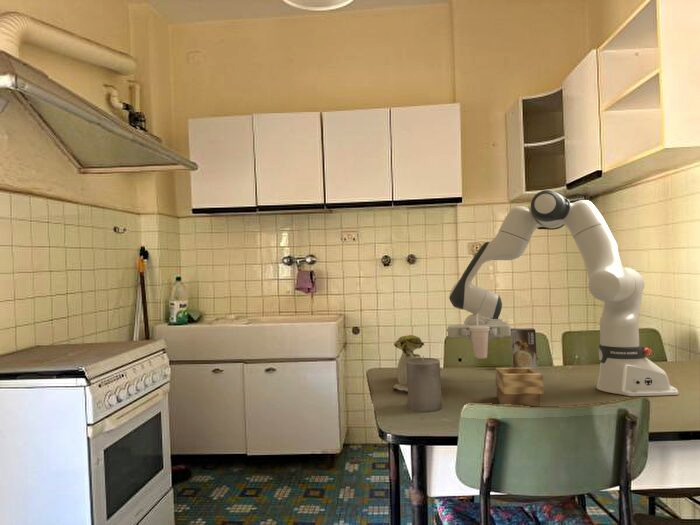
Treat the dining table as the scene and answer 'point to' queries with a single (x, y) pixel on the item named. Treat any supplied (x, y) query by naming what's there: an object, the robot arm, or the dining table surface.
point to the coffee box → (523, 348)
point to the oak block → (519, 380)
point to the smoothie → (480, 339)
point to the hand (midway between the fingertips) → (479, 333)
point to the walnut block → (518, 399)
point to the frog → (405, 357)
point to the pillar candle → (424, 384)
